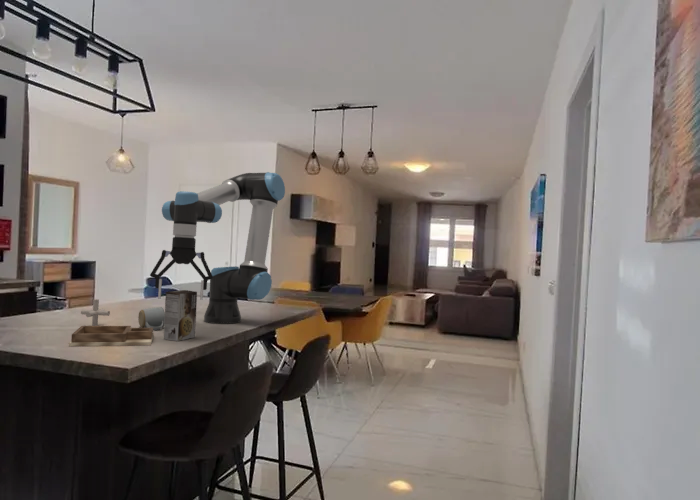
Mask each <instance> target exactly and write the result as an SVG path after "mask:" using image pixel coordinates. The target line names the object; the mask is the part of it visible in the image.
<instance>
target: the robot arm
mask: <svg viewBox="0 0 700 500" xmlns="http://www.w3.org/2000/svg"><path fill="white" fill-rule="evenodd" d="M285 194H286V187H285V182H284V180H283V178H282V176H281V175H280V174H278V173H276V172H269V171H267V172H246V173H242V174H238V175H236V176H233V177H230V178H228V179H225V180H223V181H222V183H221V184H219V185H217V186H213V187H211V188H208V189H206V190H203V191H200V192H198V193H197V192H194V191H184V190H183V191H177V192H176V193H175V198H174V200H168V201H165V202H164V203H163V205H162V207H161V214H162V217H163V219H165V220H166V221H170V222H173V225H172V227H173V228H172V235H173V237H172V243H171V245H172V246H171V250H170V251H169V250H166V249H162V251H161V256H160V258H159V259H158V261H157V262H156V265H154V267H153V270H152V271H150V274H149V276H150V277H151V278H153V279H155V281H154V282H155V283H154V284H155V285H154V287H155V289H158V295H157V296H158V297H157V299H158V300H160V299H161V298H162V286H163V285H162V284H163V278H161V277H162V276H163V275H164V274H165V273H166V272H168V270H169V269H171V267H172V266H173V265H175V264H177V265H183V264H184V265H189V264H190V265H192V267H193V268H194V269H195V271H196V272H197V273H198V274H199V276H200V277H201V278H202V280H201V281H200V295H199V299H200V301H203V298H204V297H203V296H204V291H207V289H208V288H207V287H208V281H209V301H208V302H209V303H208V305H207V308H206V310H205V313H204V316H203V317H204V318H203V321H204V322H206V323H211V324H236V323H237V324H238V323H240V322H241V321H242V317H241V312H240V309H239V305H238V299H245V300H251V301H255V300H263V299H264V298H266V296H267V295H268V294H269V293H270V290H271V288H272V284H273V283H272V282H273V281H272V280H273V279H272V276H271V274H270V272H268V271H269V270H268V269H269V268H268V267H267V266H266V261H267V260H266V259H267V253H268V252H267V251H268V246H269V239H270V238H269V237H270V230H271V225H272V218H273V211H274V209H275V208H276V207H278V203H279V201H282V200H283V198H284V197H285ZM243 200H244V201H245V200H246V201H247V200H248V201H249V203H250V204H251V205H252V208H251V214H250V215H251V216H250V221H249V222H250V223H249V226H248V227H249V228H248V235H247V241H246V248H245V253H244V258H243V259H244V260H243V262H242V263H240V264H239V266H224V267H223V266H220V267H213V268H212V269H211V270H210V267H209V265H208V263H207V260H206V259H205V253H204V251H200V252H196V241H197V240H196V238H195V237H196V236H197V224H198V223H206V224H207V223H208V224H211V223H212V224H215V223H218V222H219V221H220V220H221V219H222V215H223V210H222V207H221V206H220V205H223V204H226V203H228V202H231V203H233V202H236V201H243ZM169 255H170V256H171V258H172V259H171V261H169V263H168V264H167V265H165V267H164V268H163V269H161V270H160V271H159V273H157V272H158V270H159V268H160V267H161V266H162V263H163V262H164V260H165V259H166V257H168V256H169ZM196 257H198V259H200V260H201V261H200V262H201V263H202V265H203V268H204V270H205V272H206V273H207V276H206V275H205V273H203V271H202V269H200V267H199V266H198V265H197V263H195V261H194V259H195V258H196Z"/></svg>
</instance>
